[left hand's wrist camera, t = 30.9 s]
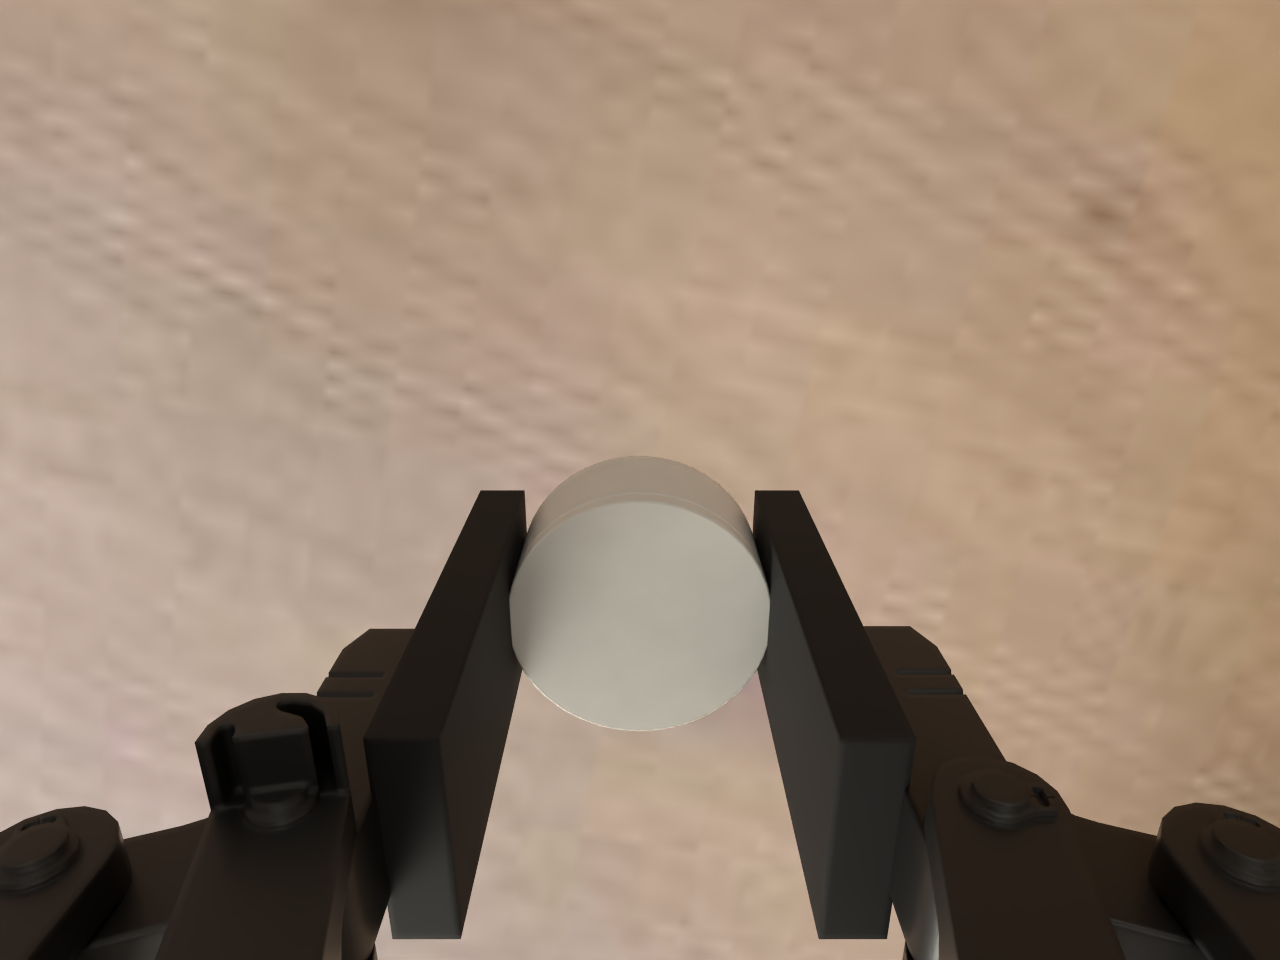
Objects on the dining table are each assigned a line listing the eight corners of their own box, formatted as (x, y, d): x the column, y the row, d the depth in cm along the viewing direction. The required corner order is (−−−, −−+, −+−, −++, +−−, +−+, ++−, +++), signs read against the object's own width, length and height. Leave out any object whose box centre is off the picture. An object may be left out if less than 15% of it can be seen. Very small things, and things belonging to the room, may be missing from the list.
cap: (475, 555, 14) (451, 614, 13) (649, 406, 14) (651, 445, 12) (631, 700, 16) (630, 773, 14) (802, 571, 15) (826, 631, 13)
